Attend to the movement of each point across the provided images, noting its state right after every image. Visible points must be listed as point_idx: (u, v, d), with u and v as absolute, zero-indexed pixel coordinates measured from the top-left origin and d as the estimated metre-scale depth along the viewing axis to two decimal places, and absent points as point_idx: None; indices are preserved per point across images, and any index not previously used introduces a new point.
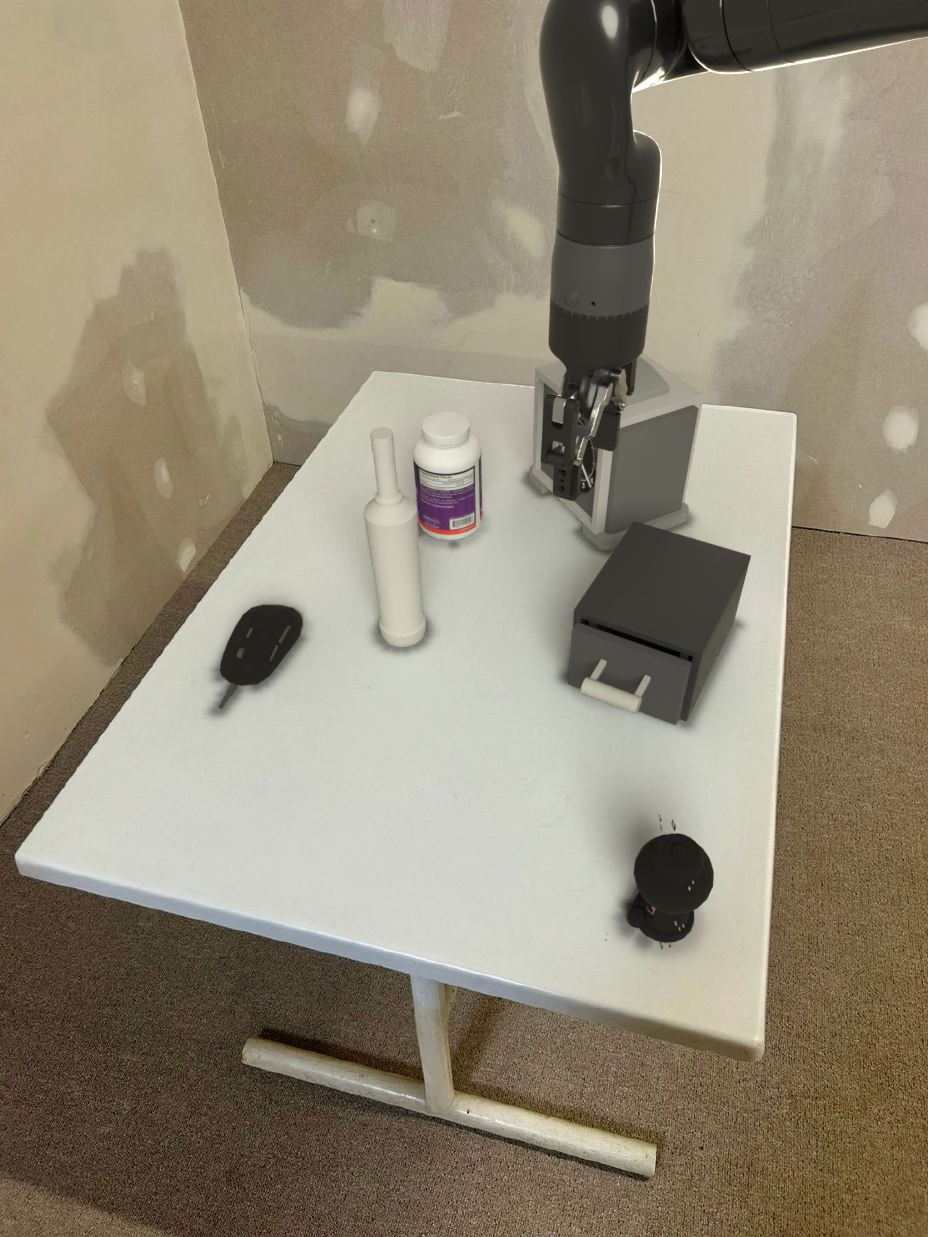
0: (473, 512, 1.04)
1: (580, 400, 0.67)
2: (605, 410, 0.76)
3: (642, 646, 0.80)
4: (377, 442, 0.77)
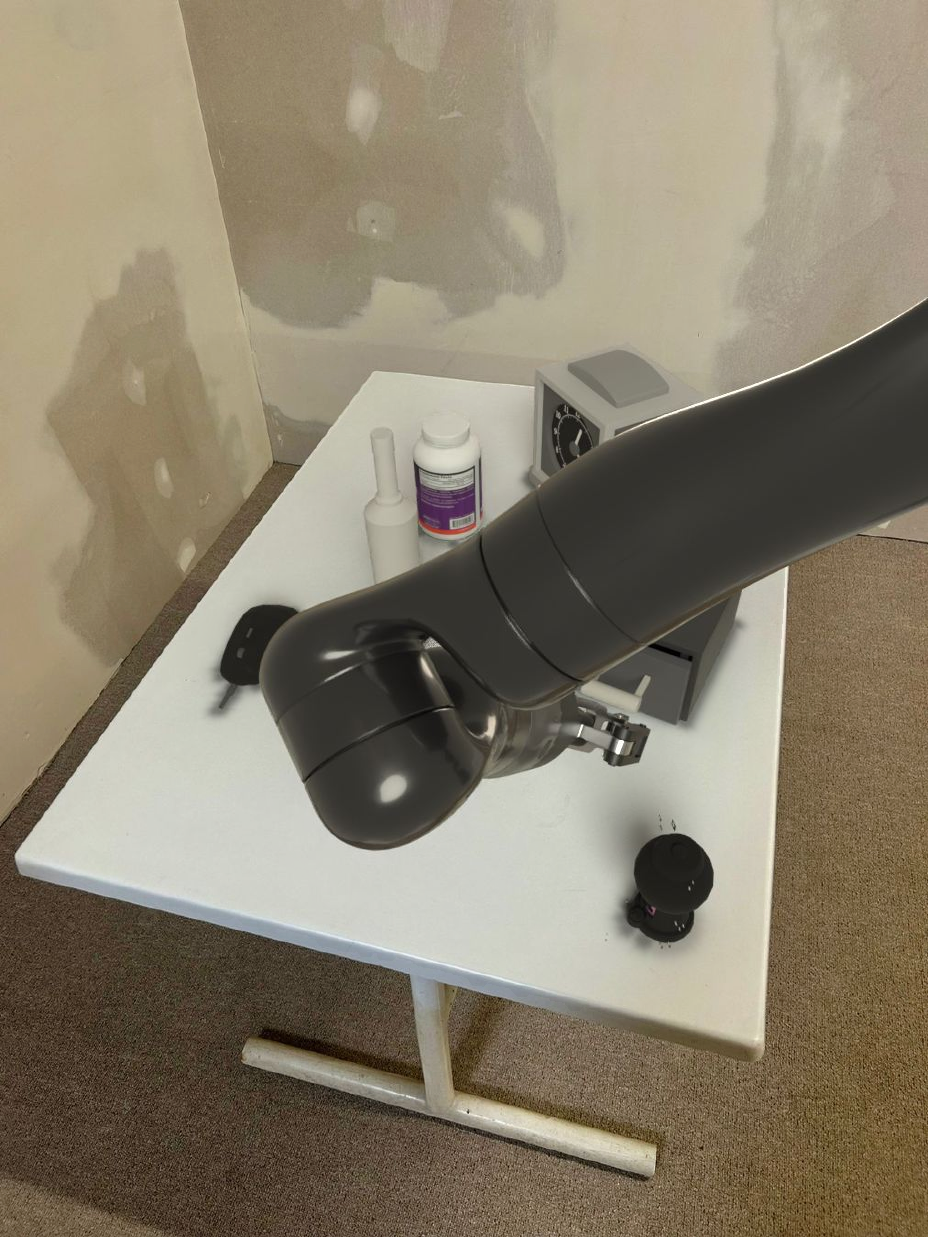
0: (473, 512, 1.04)
1: (593, 723, 0.56)
2: None
3: None
4: (377, 442, 0.77)
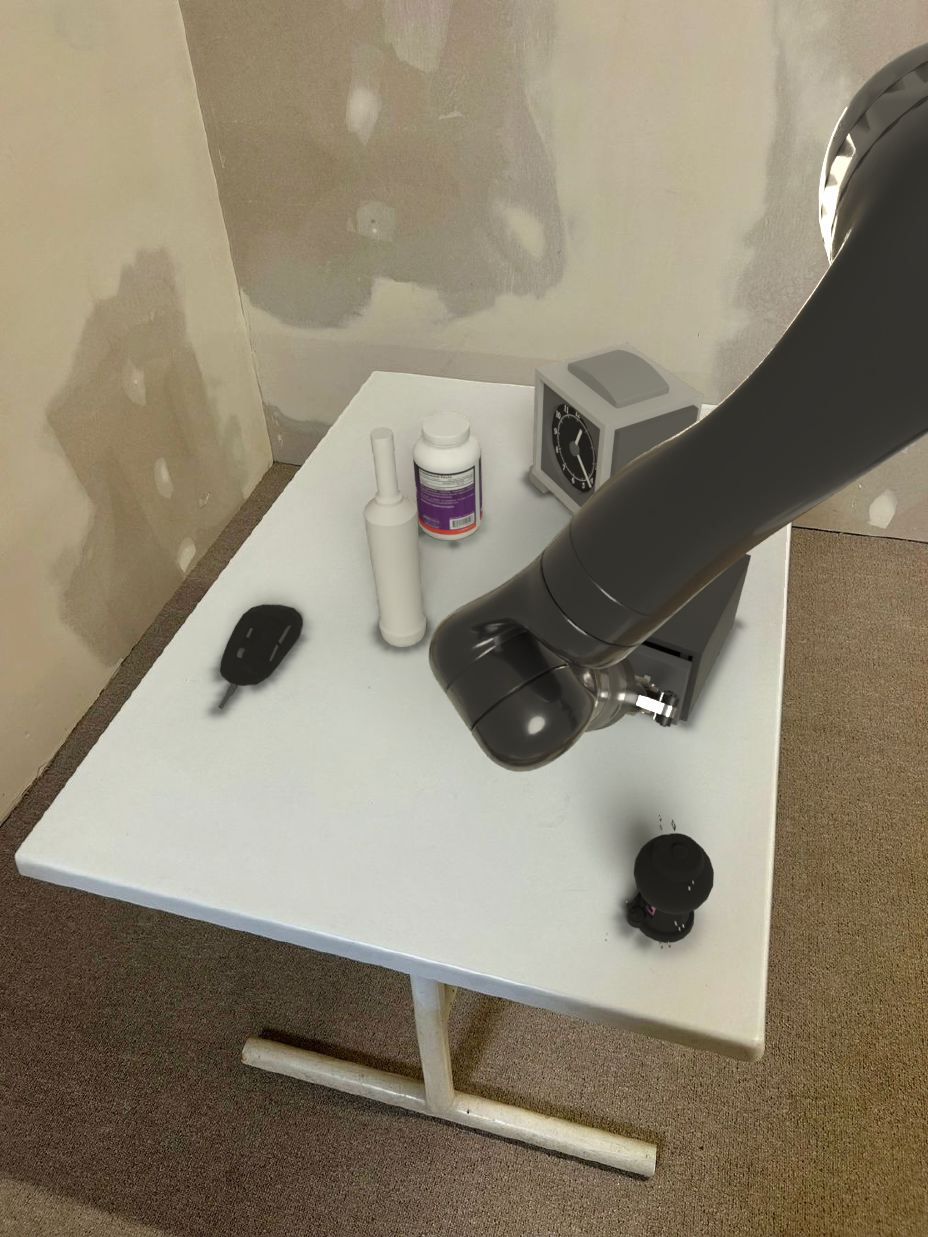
0: (473, 512, 1.04)
1: None
2: None
3: (642, 646, 0.80)
4: (377, 442, 0.77)
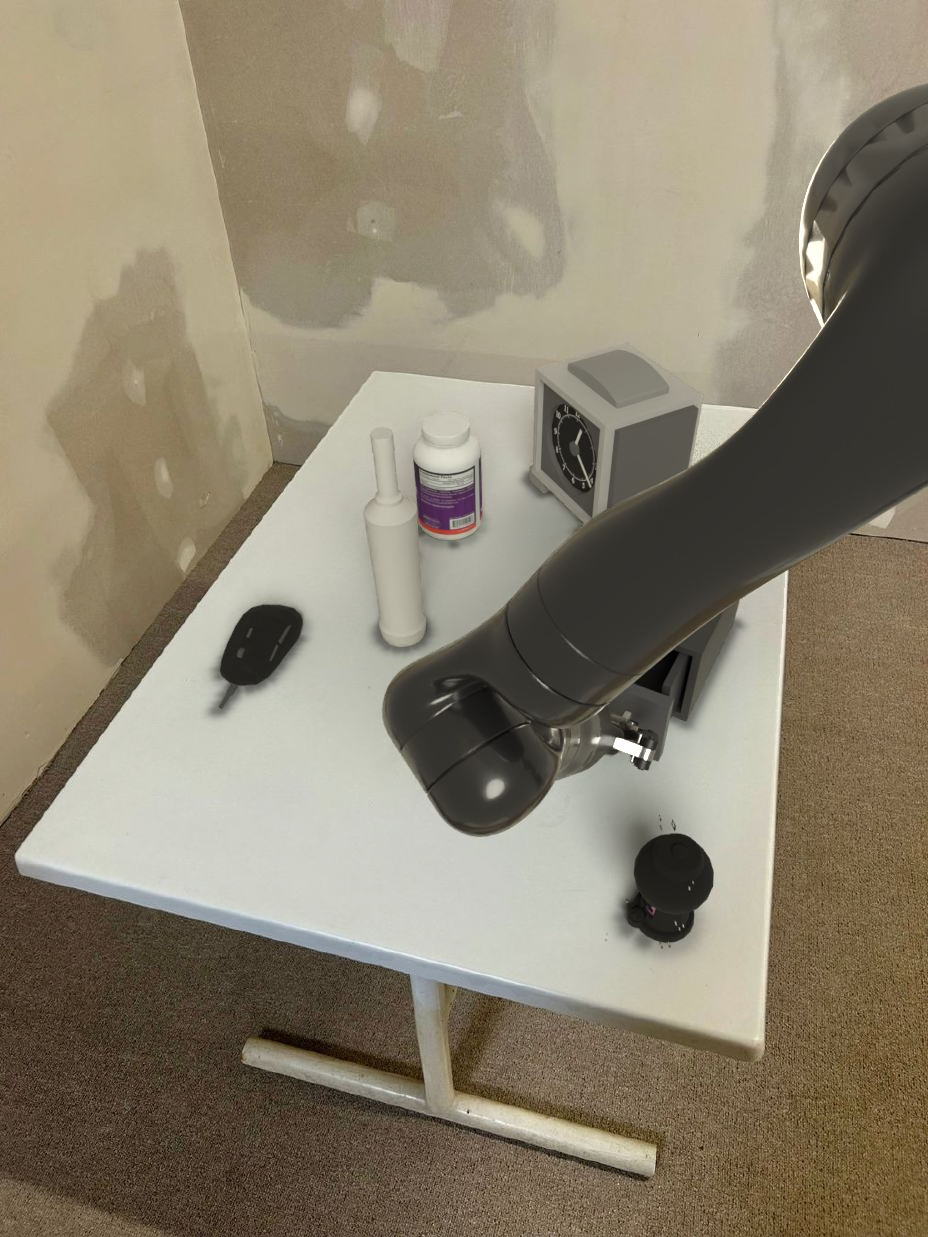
0: (473, 512, 1.04)
1: (623, 735, 0.68)
2: None
3: None
4: (377, 442, 0.77)
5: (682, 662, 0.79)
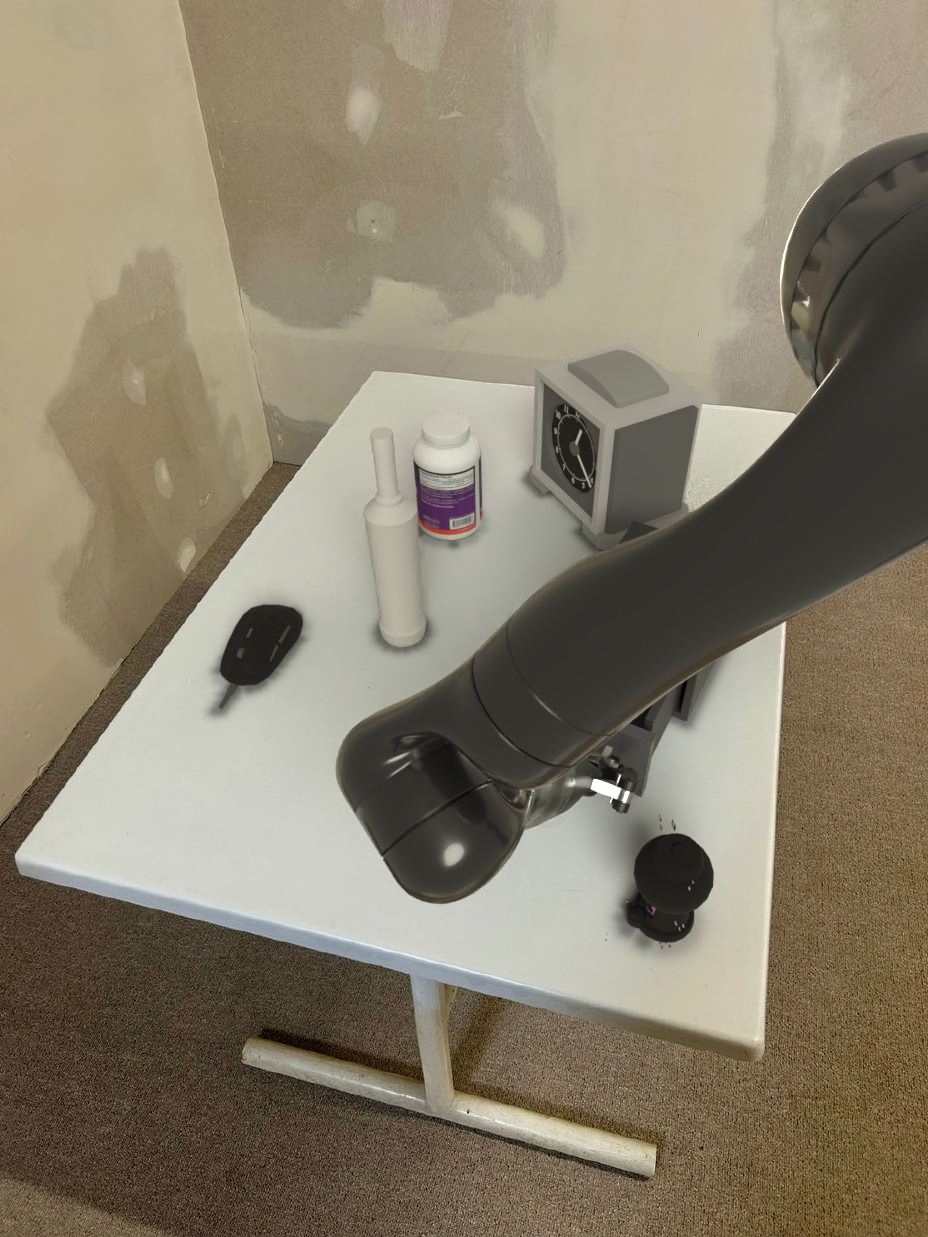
0: (473, 512, 1.04)
1: (601, 776, 0.65)
2: None
3: None
4: (377, 442, 0.77)
5: (665, 695, 0.76)
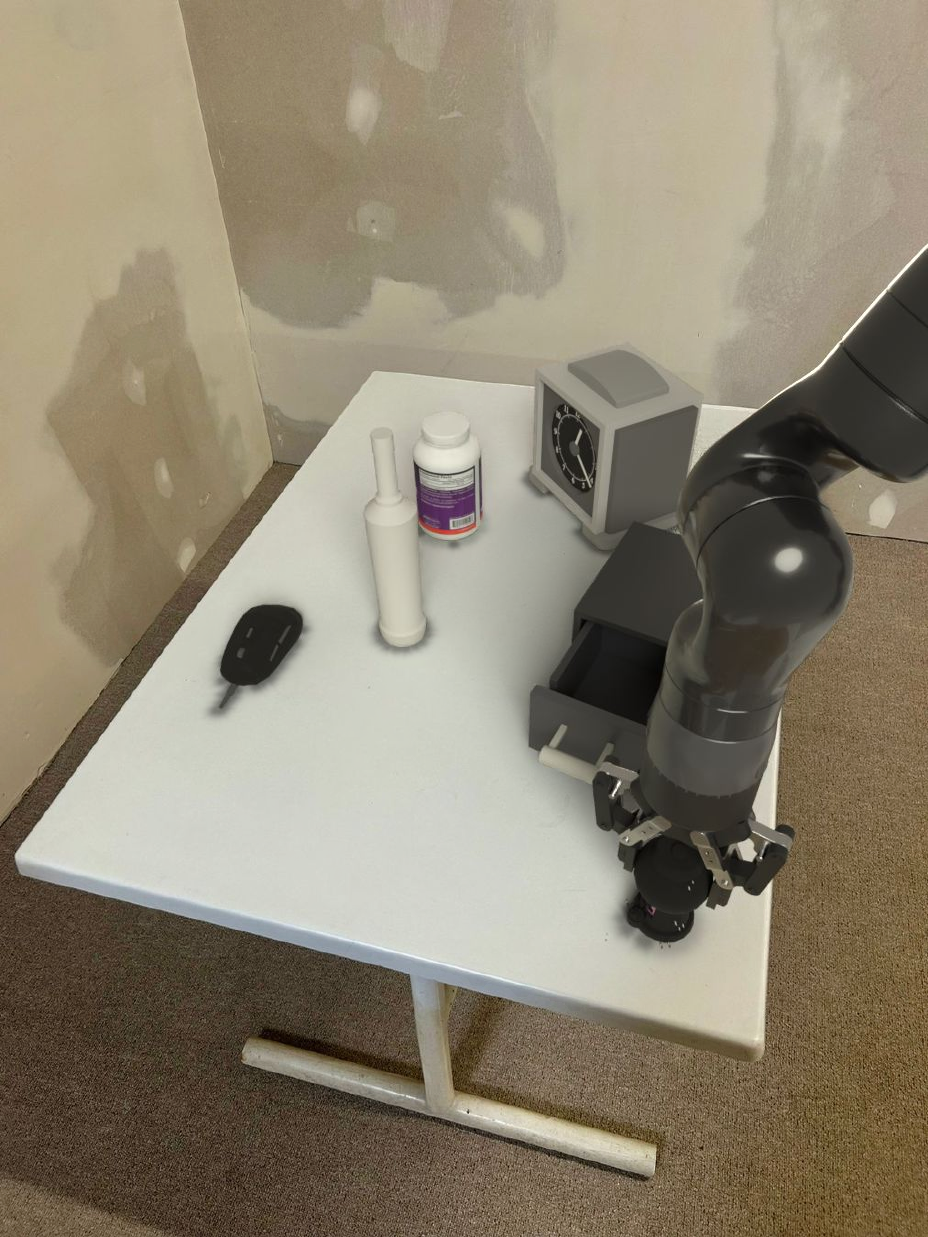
0: (473, 512, 1.04)
1: None
2: None
3: (604, 712, 0.74)
4: (377, 442, 0.77)
5: None
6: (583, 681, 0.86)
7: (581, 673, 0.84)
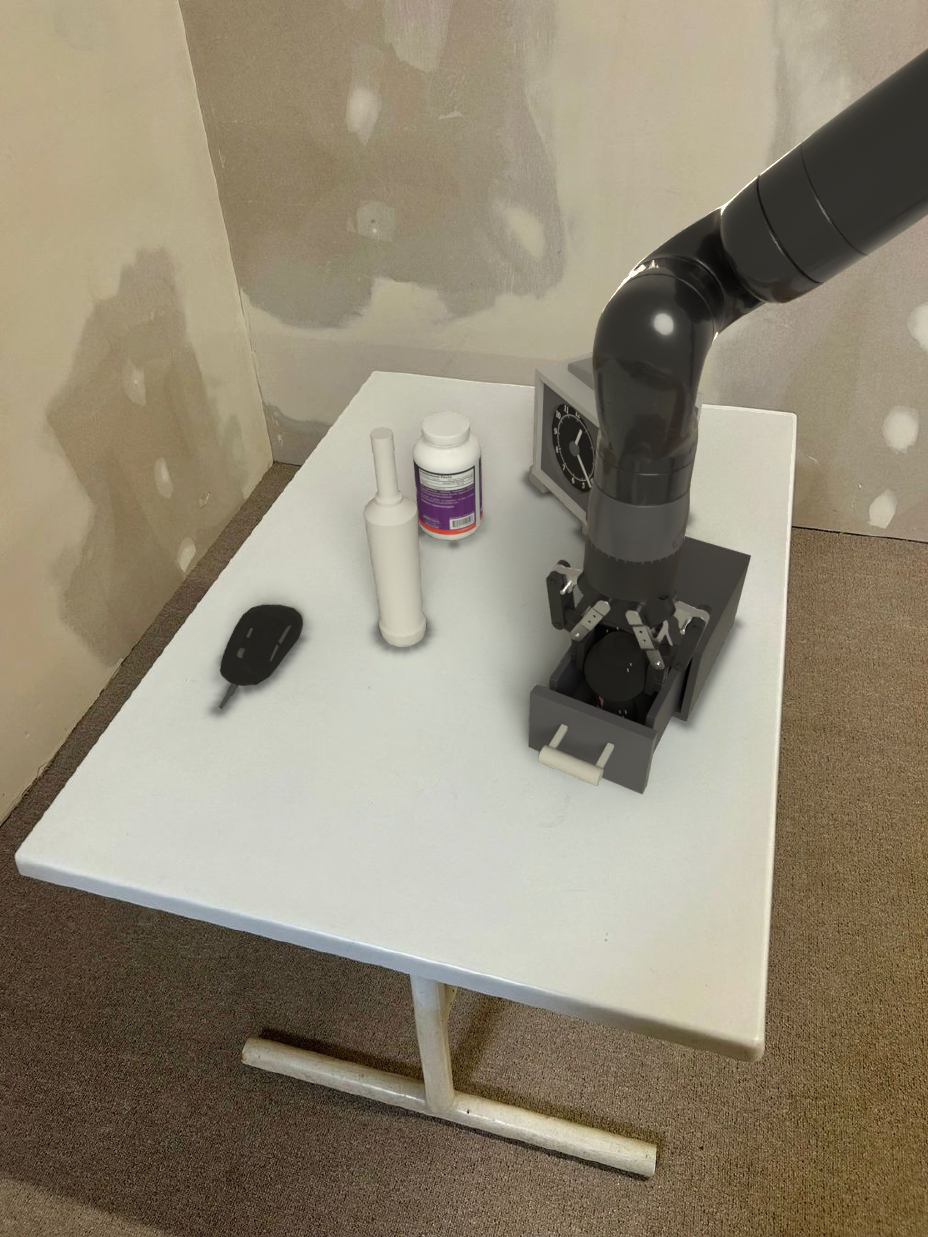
0: (473, 512, 1.04)
1: None
2: (587, 635, 0.76)
3: (604, 712, 0.74)
4: (377, 442, 0.77)
5: (667, 692, 0.76)
6: (583, 681, 0.86)
7: (581, 673, 0.84)
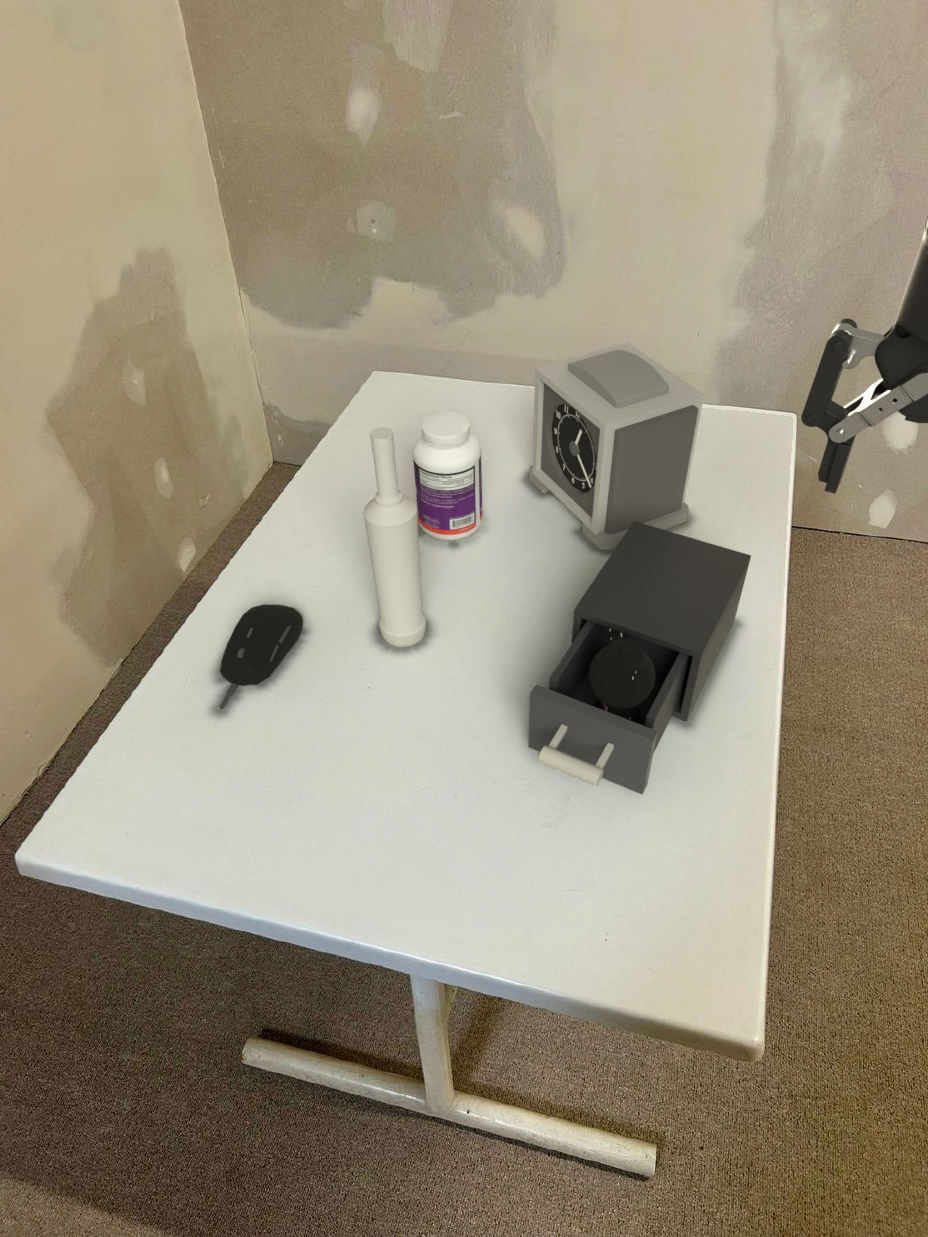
0: (473, 512, 1.04)
1: None
2: (851, 436, 0.53)
3: (604, 712, 0.74)
4: (377, 442, 0.77)
5: (667, 692, 0.76)
6: (583, 681, 0.86)
7: (581, 673, 0.84)
